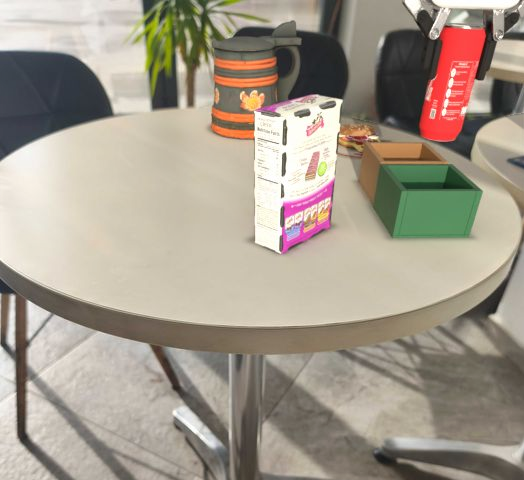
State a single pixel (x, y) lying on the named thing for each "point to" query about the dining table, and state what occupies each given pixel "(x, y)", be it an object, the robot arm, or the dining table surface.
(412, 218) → the bin
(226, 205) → the dining table surface
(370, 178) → the paper bin
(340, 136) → the hamburger
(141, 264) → the dining table surface
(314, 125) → the candy bar box
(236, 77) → the beer stein
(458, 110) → the beverage can
